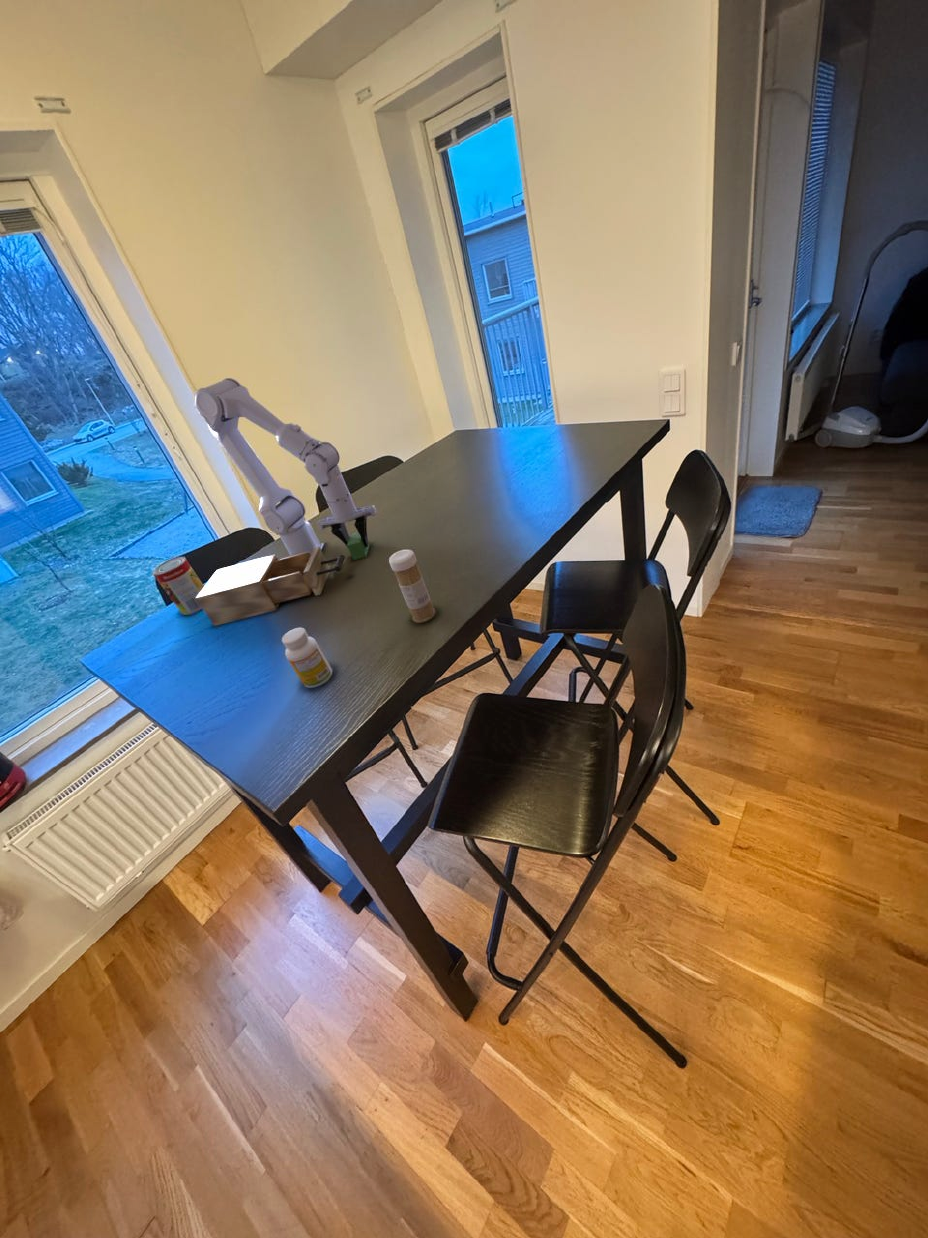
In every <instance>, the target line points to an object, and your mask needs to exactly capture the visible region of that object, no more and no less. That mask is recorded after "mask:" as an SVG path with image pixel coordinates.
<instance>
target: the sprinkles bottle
mask: <svg viewBox="0 0 928 1238" xmlns="http://www.w3.org/2000/svg"><path fill="white" fill-rule="evenodd" d="M388 562H389V565H390V567H391V570H392V572H394V575H395V577H396V580H397V582H398V586H399V588H400V590H401V593H402V596H403V598H404V600H405V603H406V606H407V607H408V610H409V613H410V614H411V618H412V621H414V622H415V623H418V624H420V623H426V622H428V621H430V620H432V618H433V617H434V616H435V615H436V609H435V608H434V606H433V604H432V600H431V597H430V594H429V592H428V589H427V587H426V584H425V581H424V578H423V576H422V573H421V571H420V569H419V566H418V562H417V556H416V555H415V553H414V551H413V550H411V549H401V550H398V551H396V552H394V553H393V554H391V556H390V557H389V558H388Z"/></svg>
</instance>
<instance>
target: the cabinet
mask: <svg viewBox="0 0 928 1238" xmlns="http://www.w3.org/2000/svg"><path fill="white" fill-rule="evenodd" d="M278 559H279V558H278V555H277V554H275V553H274V554H269V555H267V556H263V557H260V558H255V559H252V560H247V561H245V562H240V563H237V564H234V565H230V566H226V567H222V568H219V569H216V571H215V572H214V573H213V574H212V575H211V577H210V578H209V579H208V581H207V582H206V583H205V584H204V587H203V589H202V590H201V591H200V593H199V594H198V595H197V597H196V598H195V599H196V600H197V602H198V603H199V605H200V606H201V607H202V610H203V612H204V613H205V614H206V616H207V618H208V619H209V620H210V622H211V624H212V625H213V626H214V627H216V626H220V625H224V624H228V623H232V622H236V621H239V620H243V619H247V618H252V617H255V616H260V615H264V614H267V613H271V612H272V613H273V612H274V611H275V612H276V611H277V610H278V608H279V606H280V604H281V602H279V603H275V604H274V603H273V601H272V599H271V597H270V596H269V594H268V592H267V591H266V589H265V587H264V586H263V584H262V583H261V582H262V581H263V579H264V577H265V576H266V574H267V572H268V571H269V569H270V567H271V566H272V564H273V562H274V560H278Z"/></svg>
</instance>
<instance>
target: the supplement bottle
mask: <svg viewBox="0 0 928 1238" xmlns="http://www.w3.org/2000/svg"><path fill="white" fill-rule="evenodd" d="M281 642H282V644H283V645H284V647H285V651H284V653H285V657H286V659H287V661H288V662H289V664H290V666H291V667H292V669H293V671H294V672H295V674H296V675H297V678H299V680H300V682H301V683H302V684H303V685H304V687H306V688H308V689H313V688H314V689H315V688H318V687H320V686H322V685H325V683H327V682H328V681H329V680H330V679H331V677H332V675H333V668H332V666H331V665H330V663H329V661H328V660H327V658H326V656H325V655H324V653H323V651H322V648H321V647H320V644H319V643H318V642H317V640H316V639H315V638H314V637H312V636H309V634H308V632H307V631H306V629H305V628H304V627H295V628H292V629H290V630H288V631H287V632H286V633H285V634H284V635H282V638H281Z"/></svg>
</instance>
